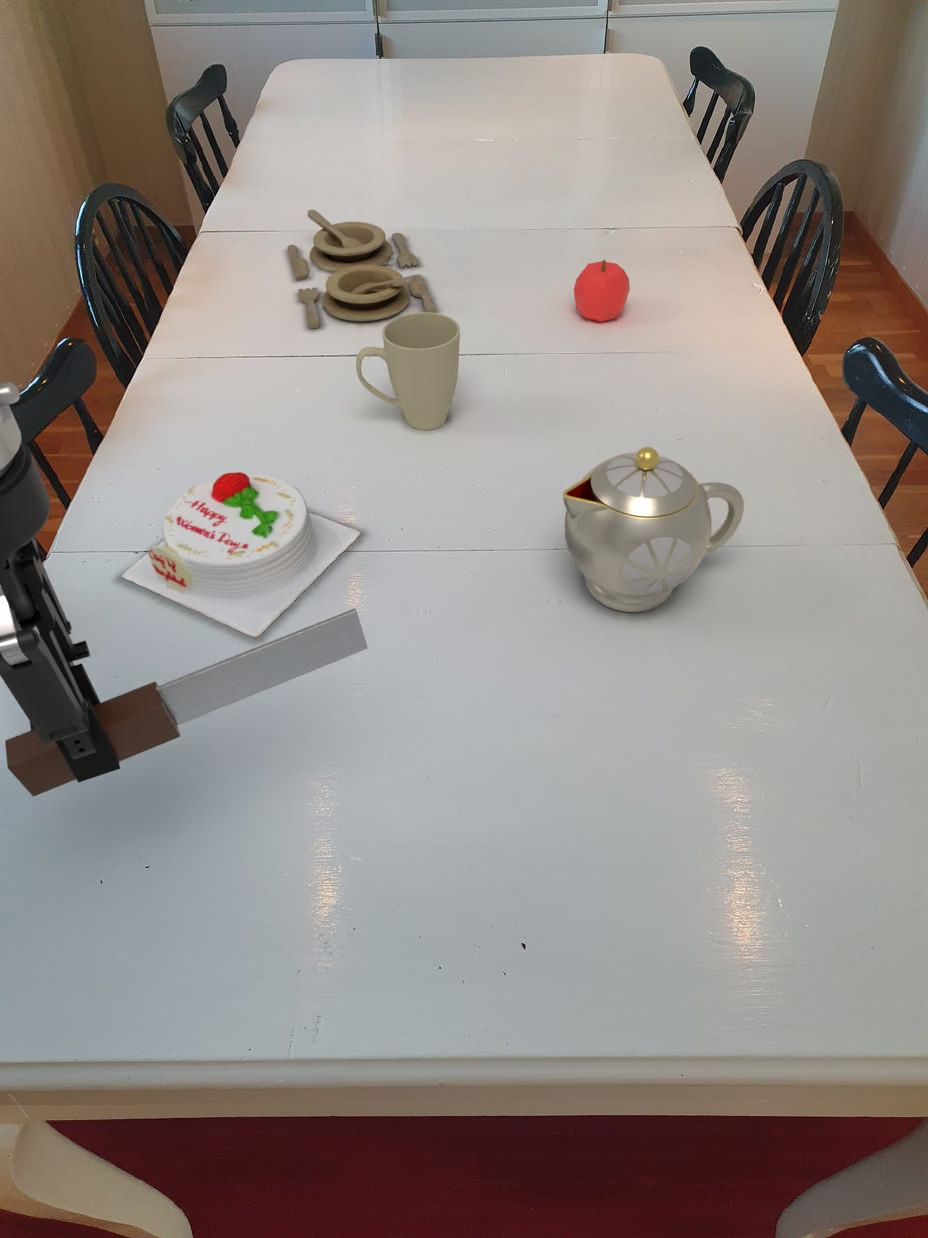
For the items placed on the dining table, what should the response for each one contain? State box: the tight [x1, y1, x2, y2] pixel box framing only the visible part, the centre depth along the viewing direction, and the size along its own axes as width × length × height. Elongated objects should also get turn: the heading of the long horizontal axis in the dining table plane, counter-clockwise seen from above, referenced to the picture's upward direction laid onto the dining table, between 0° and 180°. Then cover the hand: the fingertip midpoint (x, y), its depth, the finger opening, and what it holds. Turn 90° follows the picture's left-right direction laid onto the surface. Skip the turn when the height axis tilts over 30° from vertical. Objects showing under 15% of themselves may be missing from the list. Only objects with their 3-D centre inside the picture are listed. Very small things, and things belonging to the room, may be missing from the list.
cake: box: [121, 471, 361, 639], centre depth 93 cm, size 18×18×8 cm
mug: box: [355, 311, 461, 431], centre depth 109 cm, size 11×10×12 cm
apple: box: [573, 259, 631, 323], centre depth 129 cm, size 8×8×8 cm
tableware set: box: [287, 209, 436, 330], centre depth 139 cm, size 30×20×6 cm, turn 14°
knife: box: [4, 607, 369, 797], centre depth 61 cm, size 24×2×4 cm, turn 114°
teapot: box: [562, 446, 745, 613], centre depth 85 cm, size 18×14×16 cm
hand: (95, 753), depth 61 cm, fingers closed on knife, 2 cm apart
